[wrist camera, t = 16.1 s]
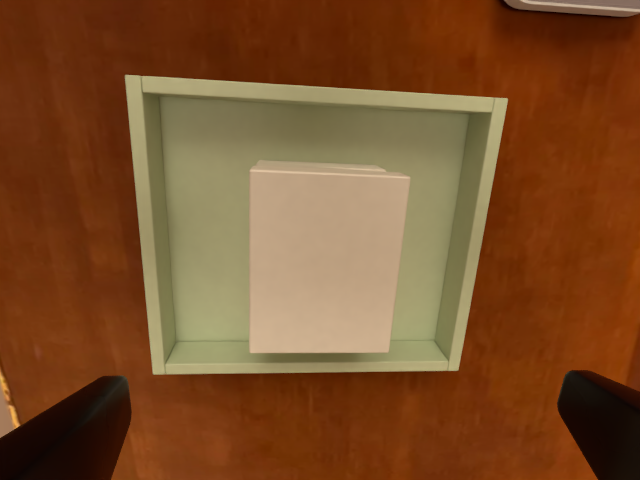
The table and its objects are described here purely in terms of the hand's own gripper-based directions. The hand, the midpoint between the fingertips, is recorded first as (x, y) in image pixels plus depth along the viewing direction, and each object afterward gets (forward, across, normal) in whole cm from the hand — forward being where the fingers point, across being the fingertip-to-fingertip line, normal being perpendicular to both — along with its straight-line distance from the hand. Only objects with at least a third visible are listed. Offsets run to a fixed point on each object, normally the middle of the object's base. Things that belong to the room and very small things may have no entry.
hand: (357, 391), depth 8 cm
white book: (+8, 0, 0) cm, 8 cm away
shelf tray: (+12, 0, 0) cm, 12 cm away
